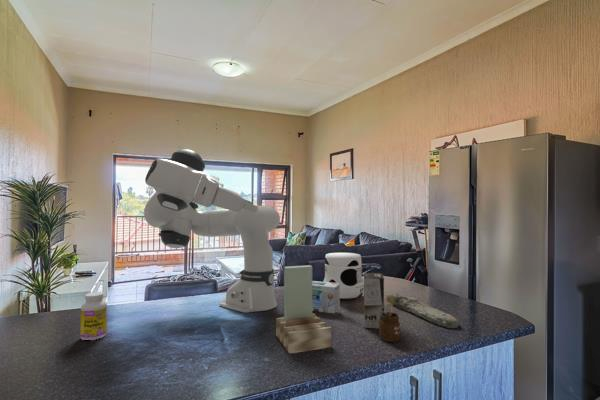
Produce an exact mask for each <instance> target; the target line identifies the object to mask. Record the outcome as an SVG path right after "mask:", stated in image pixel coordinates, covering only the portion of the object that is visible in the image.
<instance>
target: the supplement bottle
mask: <svg viewBox="0 0 600 400" xmlns="http://www.w3.org/2000/svg"><path fill="white" fill-rule="evenodd" d="M104 296H105V295H104V292H102V291H94V292H93V291H92V292H88V293H86V294H85V295H84V300H85V302H84V303H82V304H81V306H80V339H81V340H82V341H84V340H91V341H96V339H97V340H99V338H100V339H102V338H104V337H106V336H107V331H108V330H107V329H108V327H107V325H108V324H107V323H108V322H107V321H108V320H107V319H108V303H107V301H105V300H103V299H104Z"/></svg>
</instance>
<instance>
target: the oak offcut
mask: <svg viewBox="0 0 600 400" xmlns="http://www.w3.org/2000/svg"><path fill="white" fill-rule="evenodd" d="M316 328H321V327H320V326H319V325H311V326H303V327H296V328H294V331H301V330H308V329H316Z"/></svg>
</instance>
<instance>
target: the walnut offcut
mask: <svg viewBox="0 0 600 400" xmlns="http://www.w3.org/2000/svg"><path fill="white" fill-rule="evenodd" d="M319 318H320V317H318V316H317V315H315V316H313V317H305V318H297V319H289V320H286V327H289V326H297V325H305V324H312V323H319Z"/></svg>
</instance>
